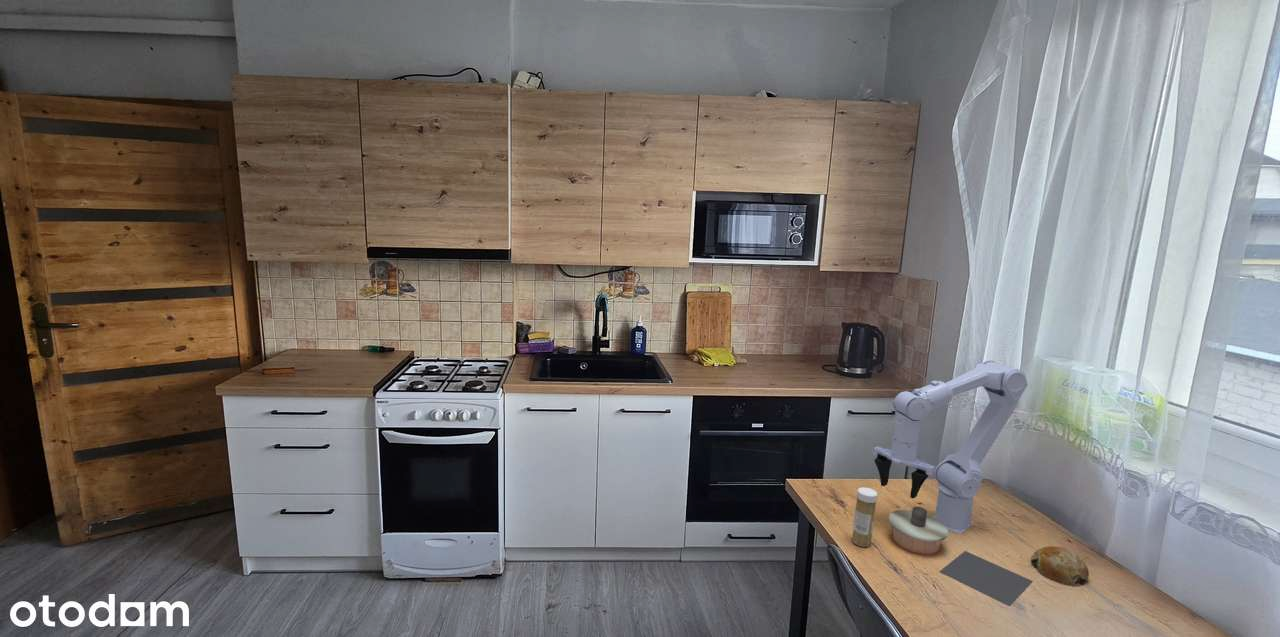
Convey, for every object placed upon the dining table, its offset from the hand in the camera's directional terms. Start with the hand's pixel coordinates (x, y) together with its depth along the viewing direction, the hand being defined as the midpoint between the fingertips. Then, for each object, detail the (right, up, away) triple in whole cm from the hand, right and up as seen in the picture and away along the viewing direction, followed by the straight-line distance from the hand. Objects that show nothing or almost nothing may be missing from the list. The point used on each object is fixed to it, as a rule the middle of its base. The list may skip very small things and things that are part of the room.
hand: (898, 490), depth 144 cm
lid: (+2, -7, -6) cm, 9 cm away
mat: (+11, -14, -18) cm, 25 cm away
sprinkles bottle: (-12, -11, -6) cm, 17 cm away
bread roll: (+29, -15, -15) cm, 36 cm away
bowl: (+2, -11, -5) cm, 12 cm away
